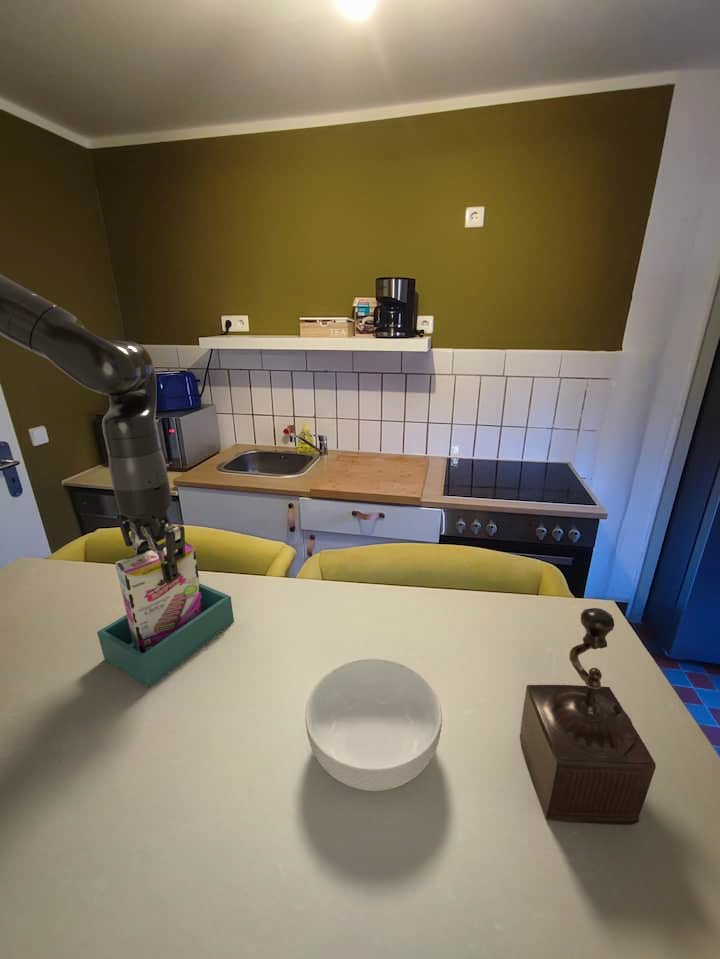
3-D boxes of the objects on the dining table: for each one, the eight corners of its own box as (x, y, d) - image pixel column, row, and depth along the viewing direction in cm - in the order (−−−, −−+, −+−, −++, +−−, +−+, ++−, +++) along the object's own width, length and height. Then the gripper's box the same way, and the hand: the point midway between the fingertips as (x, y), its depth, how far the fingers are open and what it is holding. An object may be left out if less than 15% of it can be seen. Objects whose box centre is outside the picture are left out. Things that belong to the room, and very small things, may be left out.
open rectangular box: (104, 659, 71) (96, 631, 69) (192, 602, 85) (187, 578, 83) (148, 687, 65) (141, 658, 63) (234, 621, 79) (230, 596, 77)
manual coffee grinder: (647, 826, 47) (690, 702, 40) (544, 822, 47) (571, 698, 41) (584, 706, 61) (609, 601, 55) (506, 703, 62) (521, 599, 55)
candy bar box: (143, 661, 69) (123, 574, 64) (132, 645, 73) (112, 561, 67) (208, 628, 77) (195, 547, 71) (196, 615, 80) (182, 537, 74)
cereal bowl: (417, 686, 65) (419, 649, 62) (459, 799, 49) (464, 756, 47) (304, 703, 62) (301, 664, 60) (312, 828, 47) (309, 784, 44)
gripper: (88, 478, 65) (111, 574, 71) (147, 496, 58) (168, 601, 64) (134, 465, 71) (152, 554, 77) (193, 480, 64) (207, 576, 70)
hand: (159, 575), depth 70 cm, fingers closed on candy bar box, 5 cm apart
